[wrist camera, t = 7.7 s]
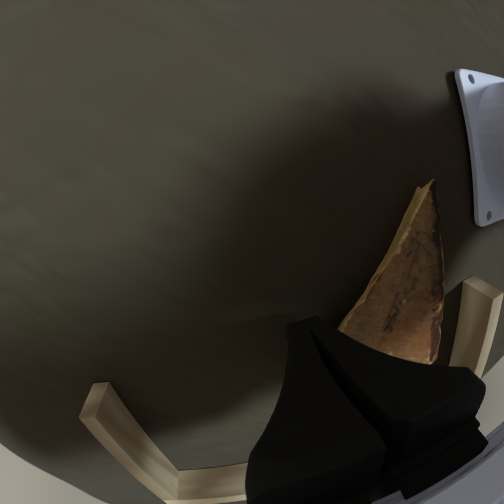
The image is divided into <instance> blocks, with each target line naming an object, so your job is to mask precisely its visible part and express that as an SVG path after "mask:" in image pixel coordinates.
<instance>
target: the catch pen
mask: <svg viewBox="0 0 504 504" xmlns="http://www.w3.org/2000/svg"><path fill="white" fill-rule="evenodd" d="M502 298H503V292H501V291H500V290H498V289H496V288H495V287H493V286H491V285H489V284H488V283H486V282H484V281H482V280H481V279H479V278H477V277H475V276H472V277H470V278H468V279H466V280H464V281H463V286H462V295H461V303H460V310H459V317H458V323H457V329H456V334H455V340H454V345H453V349H452V354H451V358H450V362H449V366H456V367H468V368H469V369H470V370H471V371H472V372H474V373H475V374H476V375H477V376H478V377H479V378H481V376H482V373H483V370H484V367H485V364H486V361H487V358H488V355H489V351H490V348H491V345H492V341H493V337H494V334H495V330H496V326H497V322H498V317H499V313H500V308H501V303H502ZM79 419H80V420H81V421H82V423H83V424H84V425H85V426H86V427H87V428H88V430H89V431H90V432H91V433H92V434H93V435H94V436H95V438H96V439H97V440H98V441H99V442H100V443H101V444H102V445H103V446H104V447H105V448H106V449H107V450H108V451H109V452H110V454H111V455H112V456H113V457H114V458H115V459H116V460H117V461H118V462H120V463H121V464H122V465H123V466H124V467H125V468H126V469H127V470H128V471H129V472H130V473H131V474H132V475H133V476H134V477H136V478H137V479H138V480H139V481H140V482H141V483H142V484H144V485H145V486H146V487H147V488H148V489H150V490H151V491H152V492H153V493H154V494H156V495H157V496H158V497H159V498H161V499H162V500H163V501H165V502H166V503H167V504H214V503H225V502H233V501H241V500H246V493H245V476H246V470H247V465H248V463H243V464H237V465H230V466H223V467H216V468H207V469H197V470H185V471H178V470H177V469H176V468H175V467H174V466H173V465H172V464H171V462H170V461H169V460H168V459H167V458H166V457H165V456H164V455H163V453H162V452H161V451H160V450H159V449H158V448H157V446H156V445H155V444H154V443H153V442H152V440H151V439H150V438H149V437H148V435H147V434H146V433H145V432H144V430H143V429H142V428H141V427H140V425H139V424H138V423H137V421H136V420H135V419H134V417H133V416H132V415H131V413H130V412H129V411H128V409H127V408H126V406H125V405H124V403H123V402H122V401H121V399H120V398H119V396H118V395H117V393H116V392H115V390H114V389H113V387H112V386H111V384H110V383H109V382H103V383H93V386H92V388H91V390H90V392H89V394H88V397H87V399H86V401H85V404H84V406H83V408H82V411H81V413H80V415H79Z"/></svg>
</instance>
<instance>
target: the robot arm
mask: <svg viewBox="0 0 504 504" xmlns="http://www.w3.org/2000/svg"><path fill="white" fill-rule="evenodd" d="M455 80H456V83H457V87H458V91H459V95H460V99H461V104H462V108H463V113H464V118H465V124H466V129H467V135H468V142H469V149H470V157H471V166H472V177H473V192H474V219H475V223H476V224H477V225H478V226H481V227H484V226H487V225H489V224H492V223H494V222H497V221H499V220H502V219H504V78H500V77H497V76H493V75H489V74H485V73H480V72H476V71H471V70H467V69H458V70H456V71H455ZM285 330H286V334H287V339H288V358H287V366H286V372H285V377H284V382H283V386H282V389H281V393H280V396H279V399H278V401H277V404H276V407H275V409H274V412H273V414H272V416H271V418H270V420H269V422H268V424H267V426H266V428H265V430H264V432H263V434H262V436H261V437H260V439H259V440H258V442H257V443H256V445H255V447H254V448H253V450H252V451H251V453H250V456H249V460H248V465H247V470H246V476H245V493H246V500H247V504H504V422H503V423H501V424H500V425H499V426H498V427H497V428H496V429H494V430H493V431H492V432H491V433H489V434H488V435H487V436H486V437H484V436H483V435H482V433H481V432H480V431H479V429H478V428H479V426H480V423H479V421H478V420H477V419H476V418H475V416H476V414H477V412H478V409H479V408H480V405H481V403H482V401H483V399H484V395H485V391H486V385H485V384H484V382H482V380H481V379H480V378H479V377H478V376H477V375H476V374H475V373H474V372H472V371H471V370H470V369H469V368H468V367H456V366H438V365H431V364H424V363H418V362H413V361H409V360H405V359H401V358H398V357H394V356H391V355H388V354H386V353H383V352H380V351H378V350H375V349H373V348H370V347H368V346H366V345H364V344H362V343H360V342H358V341H356V340H354V339H353V338H351V337H349V336H348V335H346V334H344V333H342V332H341V331H339V330H338V329H336V328H335V327H333V326H332V325H330V324H329V323H327V322H326V321H324V320H323V319H321V318H320V317H318V316H314V317H311V318H307V319H304V320H300V321H297V322H293V323H290V324H287V325H286V327H285Z"/></svg>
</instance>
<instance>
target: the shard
mask: <svg viewBox="0 0 504 504" xmlns="http://www.w3.org/2000/svg"><path fill="white" fill-rule="evenodd" d="M438 211H439V200H438V195H437V188H436V181H435V179H432V180H431V181H430V182H429V183H428V184H426V185H425V186H424V187H423V188H420V187H417V189H416V191H415V194H414V196H413V199H412V201H411V203H410V204H409V207H408V209H407V211H406V213H405V214H404V217H403V220H402V222H401V224H400V226H399V228H398V230H397V233H396V236H395V238H394V239H393V241H392V244H391V246H390V248H389V250H388V252H387V254H386V255H385V257H384V259H383V261H382V262H381V264H380V265H379V267H378V268H377V270H376V272H375V274H374V275H373V276H372V278H371V279H370V281H369V284H368V286H367V288H366V290H365V292H364V294H363V295H362V296H361V297H360V298H359V300H358V301H357V303H356V304H355V306H354V307H353V309H352V310H351V311H350V312H349V313H348V314H347V316H346V317H345V318H344V320H343V321H342V322H341V324H340V326H339V327H338V328H337V329H338V330H339V331H341V332H342V333H344V334H346V335H348V336H349V337H351V338H353V339H354V340H356V341H358V342H360V343H362V344H364V345H366V346H368V347H370V348H373V349H375V350H378V351H380V352H383V353H386V354H388V355H391V356H394V357H398V358H401V359H405V360H409V361H413V362H418V363H424V364H431V363H433V362H434V361H435V360H436V359H437V353H438V351H439V343H440V338H441V330H440V325H441V322H442V318H443V302H444V260H443V250H442V241H441V237H440V226H439V222H440V218H439V213H438Z"/></svg>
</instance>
